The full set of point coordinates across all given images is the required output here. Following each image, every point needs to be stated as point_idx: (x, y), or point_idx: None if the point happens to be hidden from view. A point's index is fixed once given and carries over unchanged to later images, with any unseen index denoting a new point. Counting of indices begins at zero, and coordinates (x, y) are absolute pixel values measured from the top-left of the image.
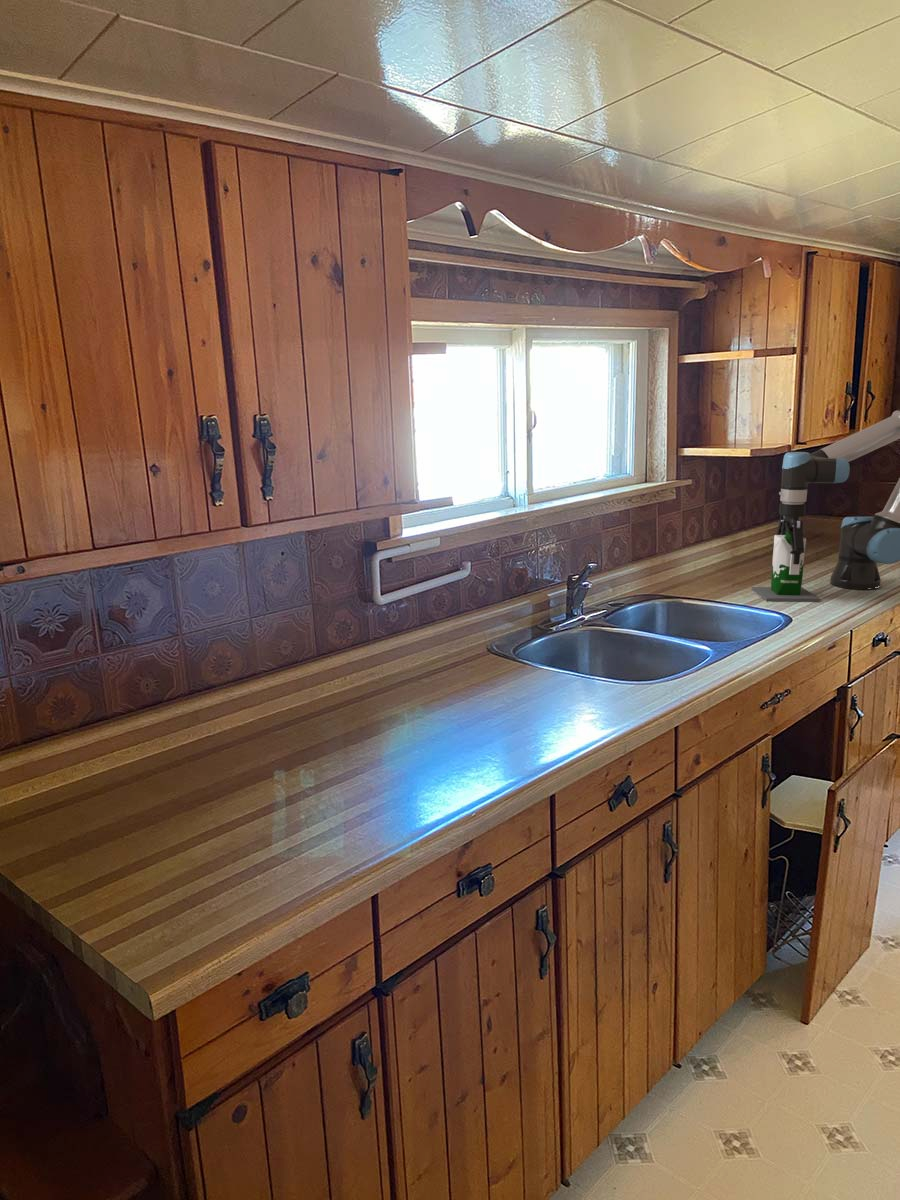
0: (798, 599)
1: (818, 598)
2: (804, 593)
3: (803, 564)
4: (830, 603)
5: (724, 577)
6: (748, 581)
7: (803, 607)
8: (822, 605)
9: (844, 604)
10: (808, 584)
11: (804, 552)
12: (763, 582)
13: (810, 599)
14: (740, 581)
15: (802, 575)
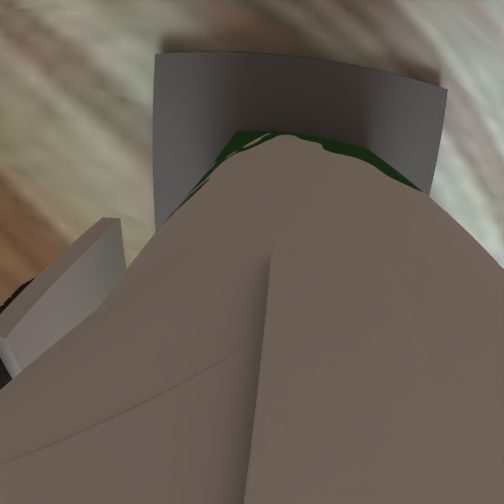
0: (427, 192)
1: (443, 92)
2: (326, 102)
3: (418, 188)
4: (467, 58)
5: (3, 295)
6: (27, 245)
7: (499, 217)
8: (493, 118)
9: (482, 13)
10: (52, 5)
11: (498, 265)
12: (28, 193)
13: (438, 134)
14: (34, 272)
15: (379, 157)
